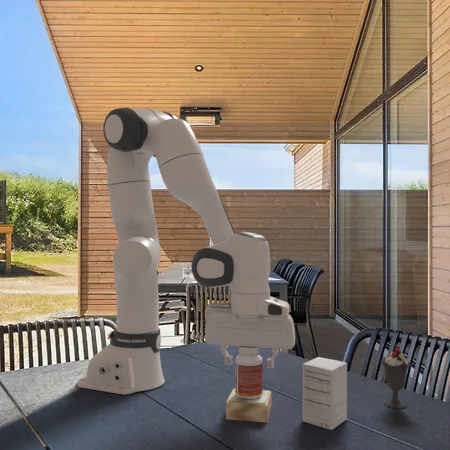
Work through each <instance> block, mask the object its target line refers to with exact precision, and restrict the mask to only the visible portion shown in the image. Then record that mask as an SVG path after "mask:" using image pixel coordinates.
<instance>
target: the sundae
mask: <svg viewBox="0 0 450 450" xmlns="http://www.w3.org/2000/svg"><path fill="white" fill-rule="evenodd" d="M397 346H398V343H395V344H394V347H393V351H391V352H390V353H389V355H388V356H387V357H386V358H383V359H382V360H380V363H381V364H383V368H384V376H385V382H386V385H387V387H388V388H389V389H390V390H391V391H392V398H391V399H390V400H386V401H384V403H383V404H384V406H386V407H387V408H390V409H395V410H403V409H406V408H407V405H406V403H404V402H402V401H400V399H399V391H401V390H402V389H403V388H404V387H405V384H406V380H407V379H406V378H407V373H408V368H411V366H412V364H411V362H410V361H409V360H408V359H407V358H406V355H405V354H404V353H403V352H401V349H399V348H398V347H397Z"/></svg>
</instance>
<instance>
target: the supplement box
mask: <svg viewBox="0 0 450 450" xmlns="http://www.w3.org/2000/svg"><path fill="white" fill-rule="evenodd" d="M301 371H302V375H301V376H302V380H301V381H302V384H301V387H302V389H301V390H302V391H301V393H302V398H301V402H302V403H301V405H302V406H301V408H302V409H301V411H302V412H301V413H302V416H301V417H302V418H301V419H302V421H303V422H304V423H307V424H310V425H313V426H317V427H321V428H324V429H327V430H331V431H332V430H335V428H336V427H338V426H340V425H341V424H342V423H344V422H345V421H346V420H348V363H347V362H345V361H341V360H336V359H330V358H325V357H320V356H317V357H315V358H313V359H311V360H309V361H306V362H304V363H302V370H301Z"/></svg>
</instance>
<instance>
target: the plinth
mask: <svg viewBox="0 0 450 450" xmlns="http://www.w3.org/2000/svg"><path fill="white" fill-rule="evenodd" d="M272 393H273V392H272V390H264V389H263V392H262V396H261V397H259V398H256V399H243V398H240V397H238V396H236V394H235V388H232V391H231V392H230V394H229V395H228V398H227V400H226V402H225V419H226V420H232V421H233V420H234V421H244V422H255V423H266V424H268V421H269V417H270V413H271V410H272Z"/></svg>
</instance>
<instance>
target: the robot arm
mask: <svg viewBox="0 0 450 450" xmlns="http://www.w3.org/2000/svg"><path fill="white" fill-rule="evenodd" d="M102 130H103V137H104V140H105V141H106V143H107V145H108V146H109V147H110V148H109V149H108V152H107V159H106V160H107V161H106V177H107V179H106V180H107V189H108V196H109V205H110V212H111V219H112V221H113V224H114V228H115V232H116V237H117V242H118V244H117V245H116V247H115V249H114V252H113V254H112V255H113V256H112V262H113V263H112V264H113V276H114V278H113V279H114V287H115V289H114V290H115V296H116V297H115V298H116V327H115V328H114V329H113V330H112V331H110V333H108V334H107V339H108V340H109V344H107V345H106V346H105V347H104V348H102V349H101V350H100V351H98V352H97V353H96V354H95V355H93V357H91V358H90V360H89V362H88V363H87V364H88V365H87V370H86V373H85V374H83V375H82V376H81V377H80V378H79V379H78V381H77V387H78V388H82V389H89V390H95V391H99V392H106V393H112V394H118V395H130V394H134V393H136V392H143V391H150V390H153V389H156V388H159V387H160V386H162V385H164V384H165V382H166V380H165V377H164V374H163V370H162V369H163V368H162V364H161V363H162V362H161V355H160V350H161V346H162V344H161V343H162V337H161V329H160V297H159V282H158V279H159V278H158V266H159V265H160V262H161V258H162V252H161V245H160V239H159V233H158V226H157V220H156V216H155V208H154V202H153V194H152V192H153V191H152V185H151V177H150V171H149V163H150V161H151V158H152V157H154V158H155V159H156V162H157V166H158V168H159V171H160V175H161V179H162V181H163V184H164V185H165V187H166V189H167V191H168V193H169V194H170V195H171V196H172V197H173V198H175V199H176V200H178V201H180V202H182V203H184V204H185V205H187V206H188V207H190V208H191V209H193V210H194V211H195V212H196V213H197V214H198V215H199V216H200V218H201V219H202V221H203V224H204V226H205V229H206V231H207V234H208V236H209V239H210V241H211V243H212V244H211V245H208V246H205V247H203V248H201V249H199V250H197V252H196V253H195V254H194V255H193V257H192V260H191V264H190V265H191V267H190V268H191V273H192V276H193V278H194V280H195V281H196V282H197V283H198V284H199V285H200V286H202V287H205V288H211V289H213V288H214V289H215V288H221V287H225V286H228V287H230V302H228V303H226V302H222V303H221V302H220V303H219V302H212V303H210V304H209V305H207V306H206V307H205V309H204V318H205V321H206V324H205V332H204V341H205V342H206V344H208V345H217V346H219V348H220V352H221V353H222V355H223V357H224V365H225V366H232V365H233V355H230V354H229V352H228V350H227V349H228V347H229V346H233V347H239V346H247V347H259V348H265V349H267V348H268V349H271V353H272V356H271V357H267V358H266V368H267V369H274V368H275V366H274V365H275V359H277V356H278V354H279V352H280V349H283V350H291V349H293V348H294V346H295V345H296V334H295V333H296V331H295V324H294V319H293V317H292V316H291V314H289V313H290V307H291V306H290V304H289V302H288V301H284V300H281V299H278V298H276V297H274V296H271V288H270V283H269V280H270V279H269V278H270V274H271V253H270V252H271V251H270V246H269V241H268V240H267V238H266V237H265V236H263V235H261V234H259V233H255V232H250V231H249V232H247V231H235V229H234V226H233V224H232V222H231V219H230V217H229V215H228V212H227V209H226V207H225V205H224V203H223V201H222V199H221V196H220V195H219V192H218V190H217V188H216V186H215V184H214V182H213V178H212V176H211V173H210V171H209V168H208V165H207V162H206V160H205V157H204V154H203V151H202V148H201V147H200V146H201V145H200V143H199V142H198V139H197V137H196V135H195V133H194V131H193V130H192V128H191V126H190V125H189V123H188V122H187V121H185V120H184V119H182V118H178V117H177V116H176V115H174V114H173V113H170V112H167V111H160V110H157V109H152V108H130V107H119V108H115V109H112V110H110V111H109V112H108V113H107V115H106V116H105V119H104V121H103V126H102Z"/></svg>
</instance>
